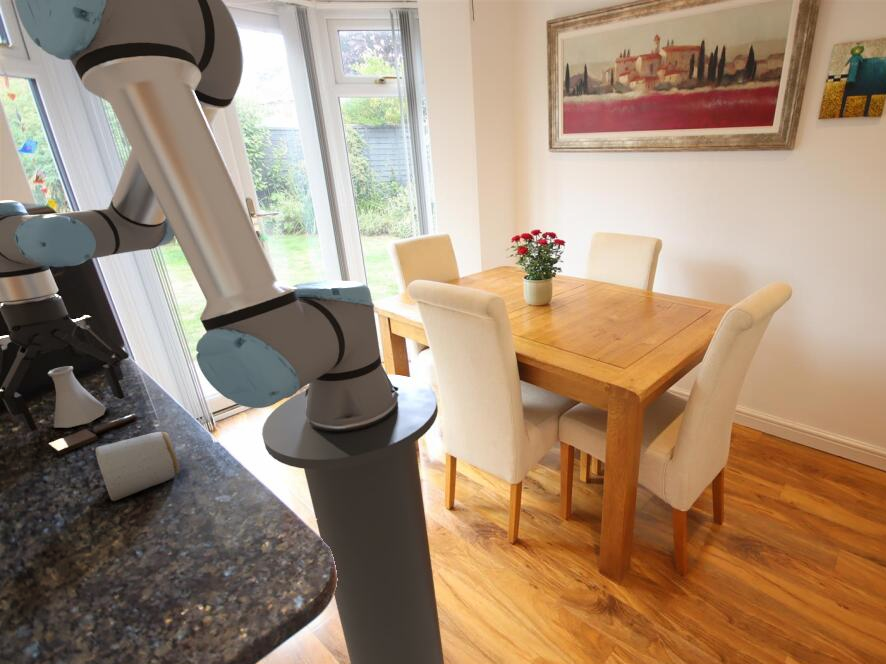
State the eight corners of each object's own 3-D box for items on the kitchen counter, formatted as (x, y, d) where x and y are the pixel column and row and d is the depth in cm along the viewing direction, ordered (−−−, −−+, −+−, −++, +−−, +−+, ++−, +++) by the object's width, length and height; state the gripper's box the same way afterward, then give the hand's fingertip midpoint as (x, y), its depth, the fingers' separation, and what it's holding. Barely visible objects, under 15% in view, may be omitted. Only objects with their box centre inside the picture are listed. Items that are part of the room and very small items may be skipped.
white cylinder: (187, 482, 66) (171, 436, 64) (115, 511, 61) (94, 462, 58) (172, 453, 73) (157, 411, 71) (106, 478, 68) (87, 433, 65)
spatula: (131, 415, 85) (129, 409, 85) (142, 421, 83) (140, 415, 83) (50, 447, 76) (47, 441, 76) (60, 455, 74) (57, 448, 74)
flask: (92, 425, 82) (71, 375, 79) (45, 432, 81) (20, 381, 77) (114, 406, 89) (95, 359, 85) (70, 412, 87) (49, 364, 84)
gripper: (107, 279, 88) (144, 381, 96) (-89, 315, 69) (-23, 439, 76) (125, 283, 84) (162, 388, 92) (-77, 323, 65) (-9, 451, 73)
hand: (78, 411), depth 84 cm, fingers open, 12 cm apart
